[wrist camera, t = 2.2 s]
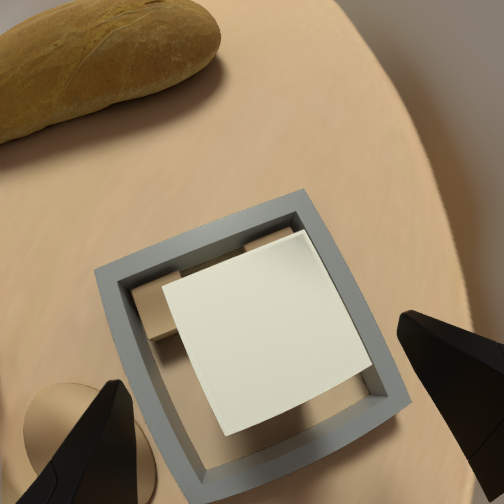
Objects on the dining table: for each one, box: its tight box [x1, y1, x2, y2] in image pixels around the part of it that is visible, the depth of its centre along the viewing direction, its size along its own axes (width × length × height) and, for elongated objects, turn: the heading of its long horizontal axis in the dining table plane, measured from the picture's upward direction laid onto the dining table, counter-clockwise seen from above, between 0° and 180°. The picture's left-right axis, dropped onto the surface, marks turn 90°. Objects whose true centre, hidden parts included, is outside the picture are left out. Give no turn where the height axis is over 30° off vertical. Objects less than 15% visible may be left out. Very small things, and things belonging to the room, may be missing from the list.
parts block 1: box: [131, 270, 183, 342], centre depth 17 cm, size 3×3×2 cm
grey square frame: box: [94, 189, 412, 504], centre depth 16 cm, size 14×13×2 cm
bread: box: [0, 0, 221, 144], centre depth 21 cm, size 18×35×10 cm, turn 98°
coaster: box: [23, 383, 156, 504], centre depth 14 cm, size 10×10×1 cm
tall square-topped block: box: [162, 230, 372, 436], centre depth 12 cm, size 4×4×10 cm
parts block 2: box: [243, 226, 294, 254], centre depth 18 cm, size 3×3×2 cm
